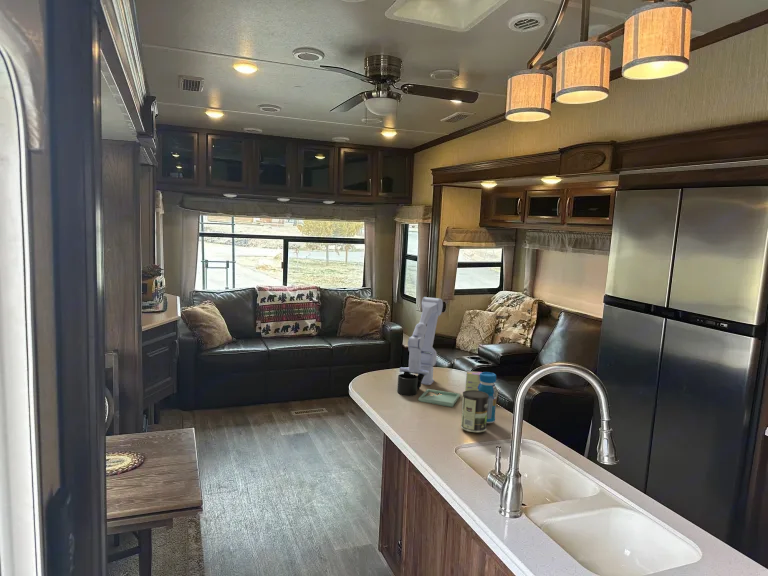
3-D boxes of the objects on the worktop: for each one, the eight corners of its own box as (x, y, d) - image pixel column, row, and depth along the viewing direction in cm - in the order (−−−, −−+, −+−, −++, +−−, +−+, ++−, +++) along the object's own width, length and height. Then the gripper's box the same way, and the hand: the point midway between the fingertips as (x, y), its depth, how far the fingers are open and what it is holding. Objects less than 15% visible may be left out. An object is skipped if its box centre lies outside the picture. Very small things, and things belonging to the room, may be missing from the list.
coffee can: (486, 424, 212) (488, 391, 210) (486, 434, 201) (488, 399, 200) (461, 421, 214) (463, 388, 212) (459, 430, 203) (462, 396, 202)
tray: (427, 392, 252) (427, 388, 252) (459, 397, 247) (459, 393, 246) (418, 401, 237) (418, 398, 237) (452, 407, 232) (452, 403, 231)
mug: (424, 396, 245) (426, 378, 244) (401, 398, 241) (402, 379, 240) (416, 390, 254) (417, 372, 253) (394, 392, 250) (395, 373, 249)
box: (486, 395, 251) (487, 372, 250) (487, 399, 246) (489, 375, 244) (464, 394, 252) (466, 370, 251) (465, 397, 247) (467, 373, 245)
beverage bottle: (480, 424, 212) (483, 376, 210) (471, 417, 220) (474, 371, 218) (498, 423, 214) (502, 376, 212) (489, 416, 222) (492, 371, 220)
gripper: (398, 360, 250) (396, 387, 252) (426, 364, 246) (425, 392, 247) (402, 357, 257) (401, 384, 258) (430, 361, 252) (429, 388, 254)
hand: (413, 387), depth 253 cm, fingers closed on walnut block, 5 cm apart
